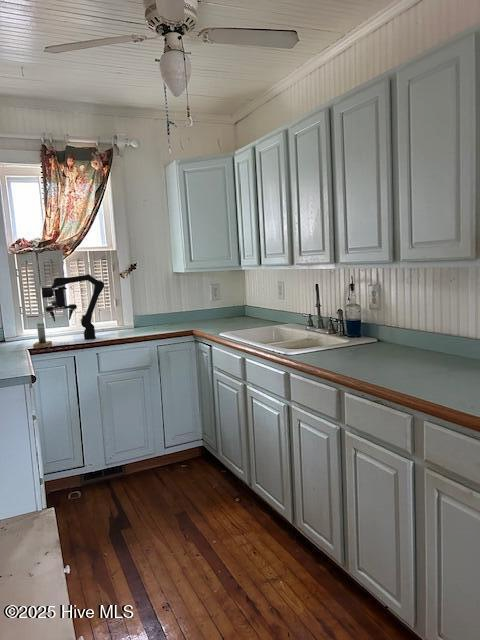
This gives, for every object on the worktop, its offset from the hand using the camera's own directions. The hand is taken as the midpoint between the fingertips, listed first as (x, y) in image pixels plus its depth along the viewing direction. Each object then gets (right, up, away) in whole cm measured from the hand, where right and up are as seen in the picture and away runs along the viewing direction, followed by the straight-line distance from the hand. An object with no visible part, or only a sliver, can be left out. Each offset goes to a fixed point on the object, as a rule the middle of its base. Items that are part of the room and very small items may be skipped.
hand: (62, 321), depth 309 cm
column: (-6, -13, -16) cm, 22 cm away
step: (-6, -16, -16) cm, 23 cm away
